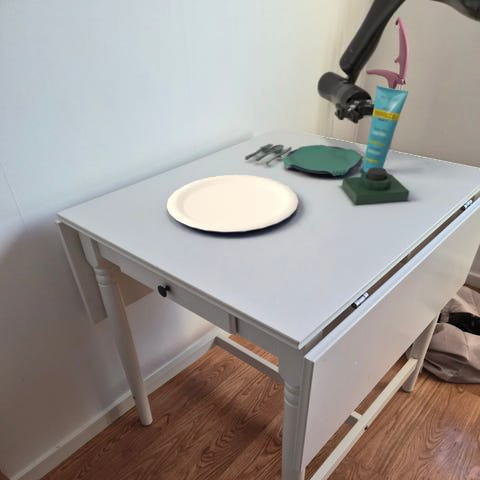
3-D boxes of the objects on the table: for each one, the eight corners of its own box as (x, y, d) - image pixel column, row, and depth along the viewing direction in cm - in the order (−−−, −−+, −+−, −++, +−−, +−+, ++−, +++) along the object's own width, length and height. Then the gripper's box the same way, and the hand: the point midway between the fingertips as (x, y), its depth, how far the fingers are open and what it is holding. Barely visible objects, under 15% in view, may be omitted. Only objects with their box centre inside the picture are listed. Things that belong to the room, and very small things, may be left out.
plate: (220, 172, 110) (220, 166, 109) (321, 197, 97) (322, 190, 96) (139, 215, 93) (138, 207, 91) (249, 253, 79) (249, 245, 78)
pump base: (389, 183, 102) (393, 166, 100) (407, 200, 95) (411, 183, 92) (341, 186, 101) (343, 170, 99) (355, 204, 94) (358, 187, 91)
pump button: (381, 174, 97) (382, 166, 96) (388, 181, 94) (389, 173, 93) (364, 175, 97) (365, 168, 96) (370, 182, 94) (372, 174, 93)
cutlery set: (344, 185, 102) (345, 176, 100) (239, 164, 114) (239, 155, 113) (371, 159, 115) (373, 151, 113) (274, 143, 127) (274, 135, 126)
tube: (355, 170, 108) (373, 87, 95) (361, 164, 111) (379, 83, 98) (383, 177, 105) (406, 92, 92) (389, 171, 108) (411, 88, 95)
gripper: (328, 87, 112) (348, 102, 100) (380, 84, 113) (406, 99, 101) (325, 118, 117) (343, 136, 104) (375, 115, 118) (399, 132, 105)
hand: (374, 118), depth 103 cm, fingers open, 8 cm apart
